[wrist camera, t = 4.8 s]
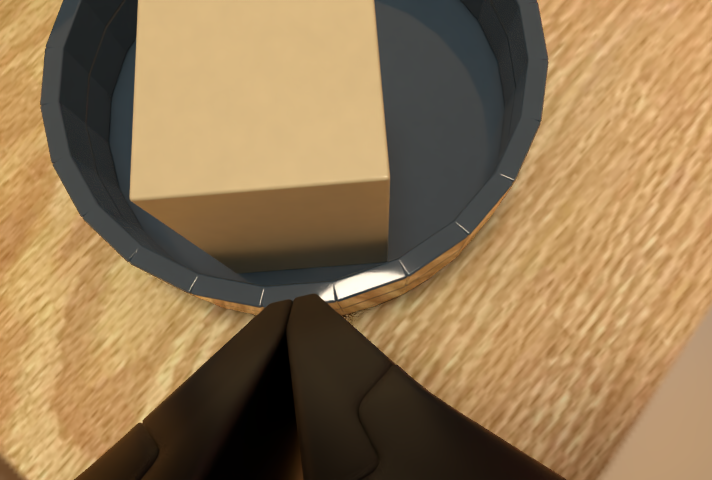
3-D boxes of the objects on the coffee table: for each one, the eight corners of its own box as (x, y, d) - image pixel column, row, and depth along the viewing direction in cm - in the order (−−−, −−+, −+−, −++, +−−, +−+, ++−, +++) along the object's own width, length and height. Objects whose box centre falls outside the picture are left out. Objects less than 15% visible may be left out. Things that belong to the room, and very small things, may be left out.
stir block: (387, 262, 17) (390, 179, 10) (235, 274, 17) (127, 201, 10) (375, 122, 18) (370, -43, 11) (234, 135, 18) (137, -21, 11)
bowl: (548, 301, 17) (589, 283, 14) (89, 335, 17) (17, 326, 14) (487, -80, 21) (507, -168, 17) (111, -43, 21) (60, -122, 18)
